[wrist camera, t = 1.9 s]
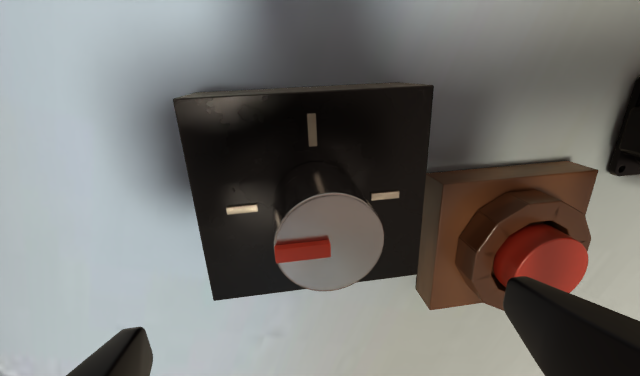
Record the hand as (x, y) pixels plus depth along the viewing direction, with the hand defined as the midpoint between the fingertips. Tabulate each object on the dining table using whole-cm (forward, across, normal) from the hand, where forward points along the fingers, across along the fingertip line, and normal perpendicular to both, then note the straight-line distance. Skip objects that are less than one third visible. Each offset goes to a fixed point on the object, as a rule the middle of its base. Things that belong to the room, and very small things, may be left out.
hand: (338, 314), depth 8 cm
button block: (+12, -13, +5) cm, 18 cm away
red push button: (+8, -13, +5) cm, 16 cm away
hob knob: (+8, 0, 0) cm, 8 cm away
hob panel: (+12, 0, 0) cm, 12 cm away
